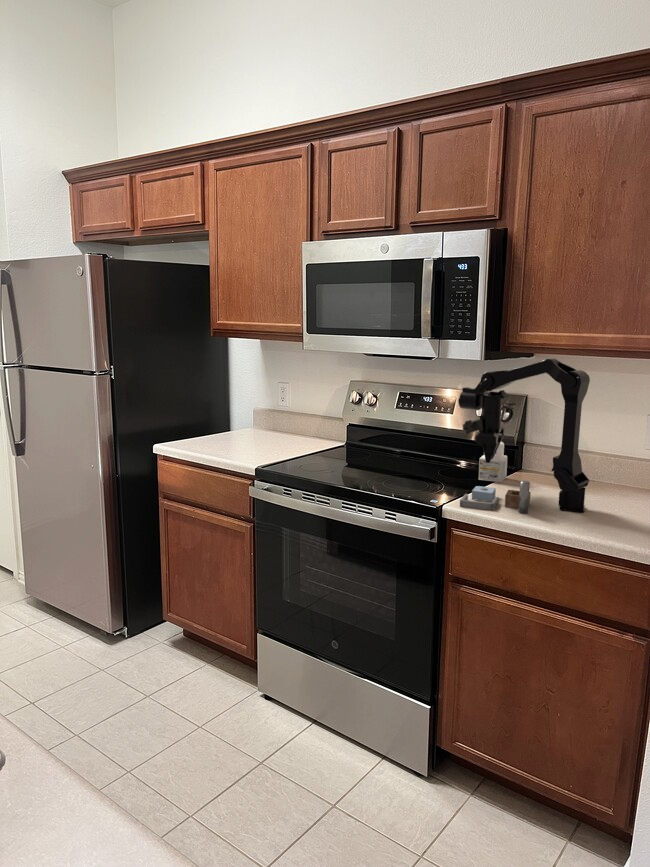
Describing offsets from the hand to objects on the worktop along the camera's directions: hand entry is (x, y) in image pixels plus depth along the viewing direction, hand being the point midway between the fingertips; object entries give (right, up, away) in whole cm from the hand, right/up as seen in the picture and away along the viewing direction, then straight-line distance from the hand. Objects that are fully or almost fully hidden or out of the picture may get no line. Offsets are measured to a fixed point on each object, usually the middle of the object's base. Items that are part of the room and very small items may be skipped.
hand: (489, 461), depth 206 cm
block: (-3, -11, -5) cm, 13 cm away
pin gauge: (+5, -14, -19) cm, 24 cm away
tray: (-6, -12, -12) cm, 18 cm away
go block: (+5, -12, -12) cm, 18 cm away
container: (+6, -7, +18) cm, 20 cm away
